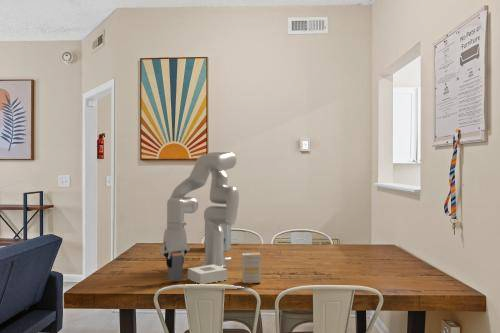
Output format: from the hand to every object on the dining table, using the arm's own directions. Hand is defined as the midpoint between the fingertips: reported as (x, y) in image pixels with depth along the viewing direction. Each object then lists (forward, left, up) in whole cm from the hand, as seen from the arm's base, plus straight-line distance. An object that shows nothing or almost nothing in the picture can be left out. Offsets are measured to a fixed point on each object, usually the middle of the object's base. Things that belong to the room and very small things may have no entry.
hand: (175, 265), depth 182 cm
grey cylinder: (0, 0, -6) cm, 6 cm away
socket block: (-14, +5, -7) cm, 17 cm away
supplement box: (-28, +20, -8) cm, 35 cm away
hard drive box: (-55, -52, -8) cm, 76 cm away
